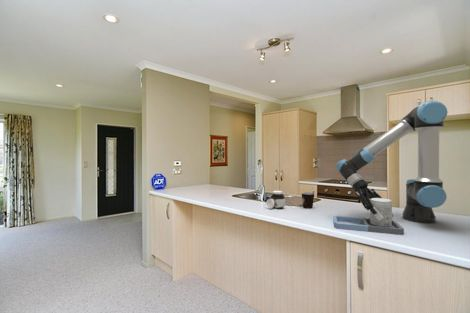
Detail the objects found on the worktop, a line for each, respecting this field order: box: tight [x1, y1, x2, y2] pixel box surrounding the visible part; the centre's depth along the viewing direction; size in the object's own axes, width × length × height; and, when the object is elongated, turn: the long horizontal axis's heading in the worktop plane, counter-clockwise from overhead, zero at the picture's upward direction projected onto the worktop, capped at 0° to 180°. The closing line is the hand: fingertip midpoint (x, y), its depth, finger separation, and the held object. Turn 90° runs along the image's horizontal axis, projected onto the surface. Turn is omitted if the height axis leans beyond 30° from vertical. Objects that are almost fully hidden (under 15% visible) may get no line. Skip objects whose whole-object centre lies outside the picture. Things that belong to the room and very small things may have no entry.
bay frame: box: [332, 215, 405, 236], centre depth 125 cm, size 30×16×2 cm, turn 70°
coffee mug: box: [301, 192, 315, 210], centre depth 170 cm, size 12×9×10 cm
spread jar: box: [265, 190, 286, 210], centre depth 167 cm, size 12×11×12 cm
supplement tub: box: [369, 197, 393, 228], centre depth 122 cm, size 10×10×15 cm
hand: (387, 217), depth 120 cm, fingers closed on supplement tub, 9 cm apart
